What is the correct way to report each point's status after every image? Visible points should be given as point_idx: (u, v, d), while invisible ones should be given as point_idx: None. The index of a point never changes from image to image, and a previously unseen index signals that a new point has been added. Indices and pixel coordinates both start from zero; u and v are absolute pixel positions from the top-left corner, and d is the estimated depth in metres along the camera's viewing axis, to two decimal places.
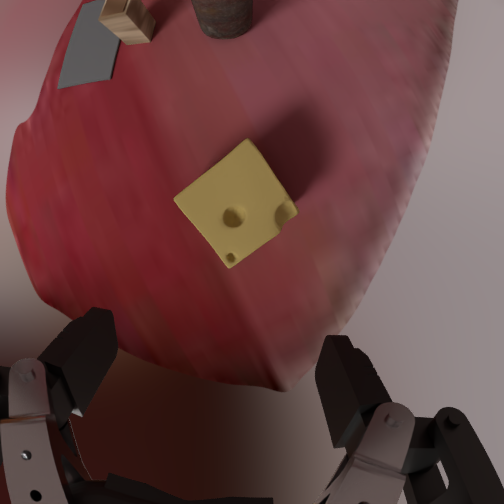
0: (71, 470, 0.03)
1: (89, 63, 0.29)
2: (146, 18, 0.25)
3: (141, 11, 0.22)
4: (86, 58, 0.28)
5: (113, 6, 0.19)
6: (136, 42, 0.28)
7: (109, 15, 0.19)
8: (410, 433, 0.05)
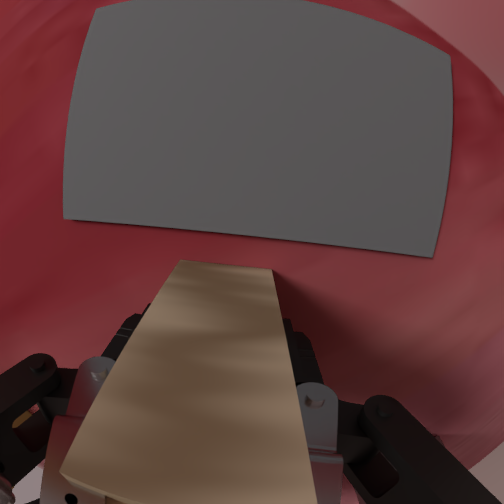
0: None
1: (129, 113, 0.09)
2: None
3: None
4: (159, 90, 0.09)
5: None
6: None
7: None
8: (328, 415, 0.05)
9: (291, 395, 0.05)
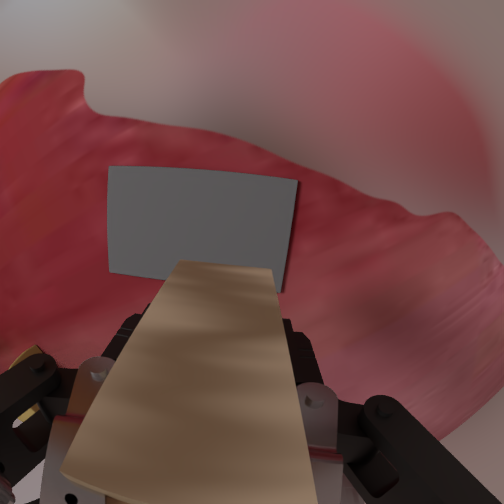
0: None
1: (136, 231, 0.25)
2: None
3: None
4: (148, 222, 0.25)
5: None
6: None
7: None
8: (328, 415, 0.05)
9: (291, 394, 0.05)
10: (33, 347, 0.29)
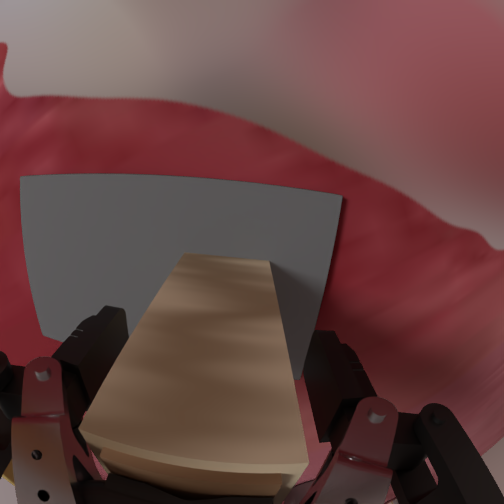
0: (82, 470, 0.04)
1: (64, 283, 0.13)
2: None
3: None
4: (77, 271, 0.13)
5: None
6: None
7: None
8: (392, 428, 0.05)
9: (285, 363, 0.06)
10: None
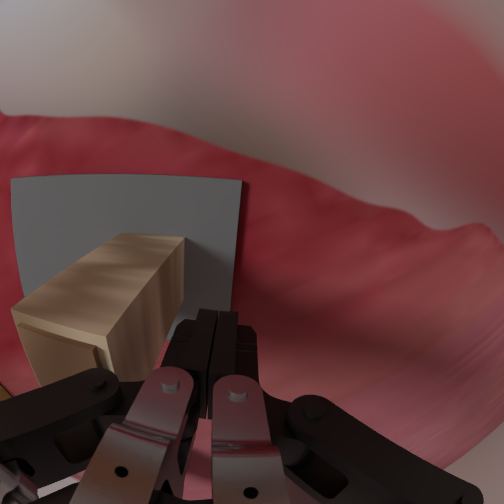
0: (166, 489, 0.04)
1: (42, 260, 0.16)
2: None
3: None
4: (51, 250, 0.16)
5: (55, 372, 0.06)
6: None
7: (31, 352, 0.06)
8: (247, 409, 0.05)
9: (136, 291, 0.09)
10: None
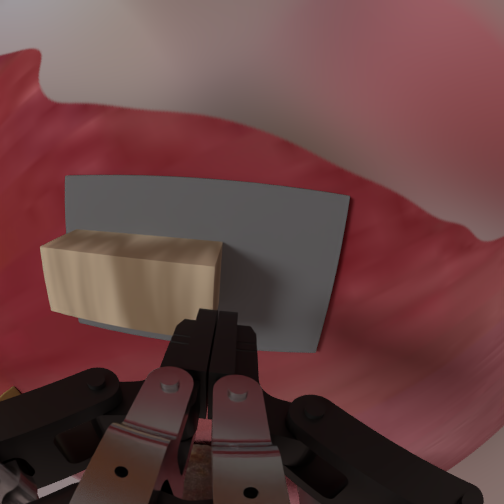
0: (166, 489, 0.04)
1: None
2: None
3: None
4: None
5: None
6: None
7: None
8: (246, 410, 0.05)
9: (77, 250, 0.12)
10: (11, 390, 0.21)
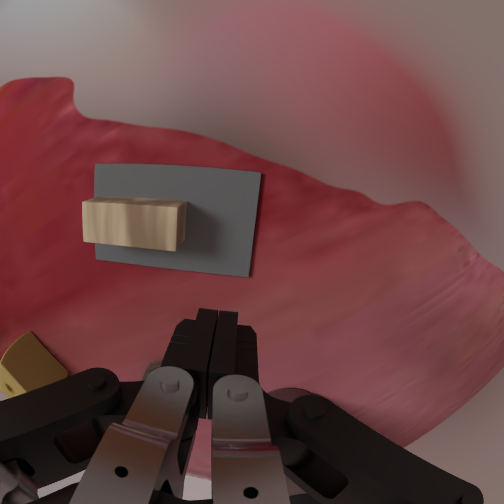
0: (166, 489, 0.04)
1: None
2: None
3: None
4: None
5: None
6: None
7: None
8: (247, 409, 0.05)
9: (105, 202, 0.23)
10: (28, 333, 0.32)
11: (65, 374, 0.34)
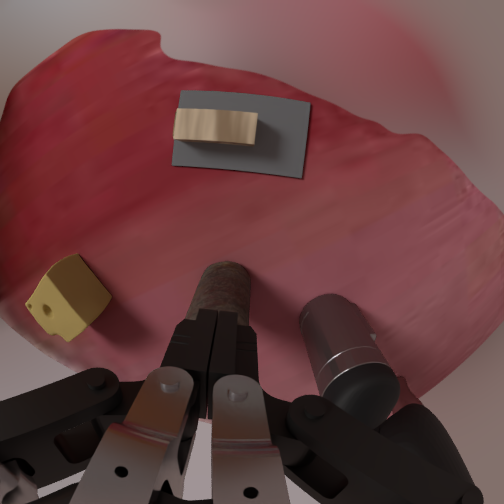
0: (166, 489, 0.04)
1: None
2: (224, 142, 0.32)
3: (206, 141, 0.32)
4: None
5: None
6: None
7: None
8: (246, 409, 0.05)
9: (199, 109, 0.30)
10: (75, 255, 0.39)
11: (109, 297, 0.41)
